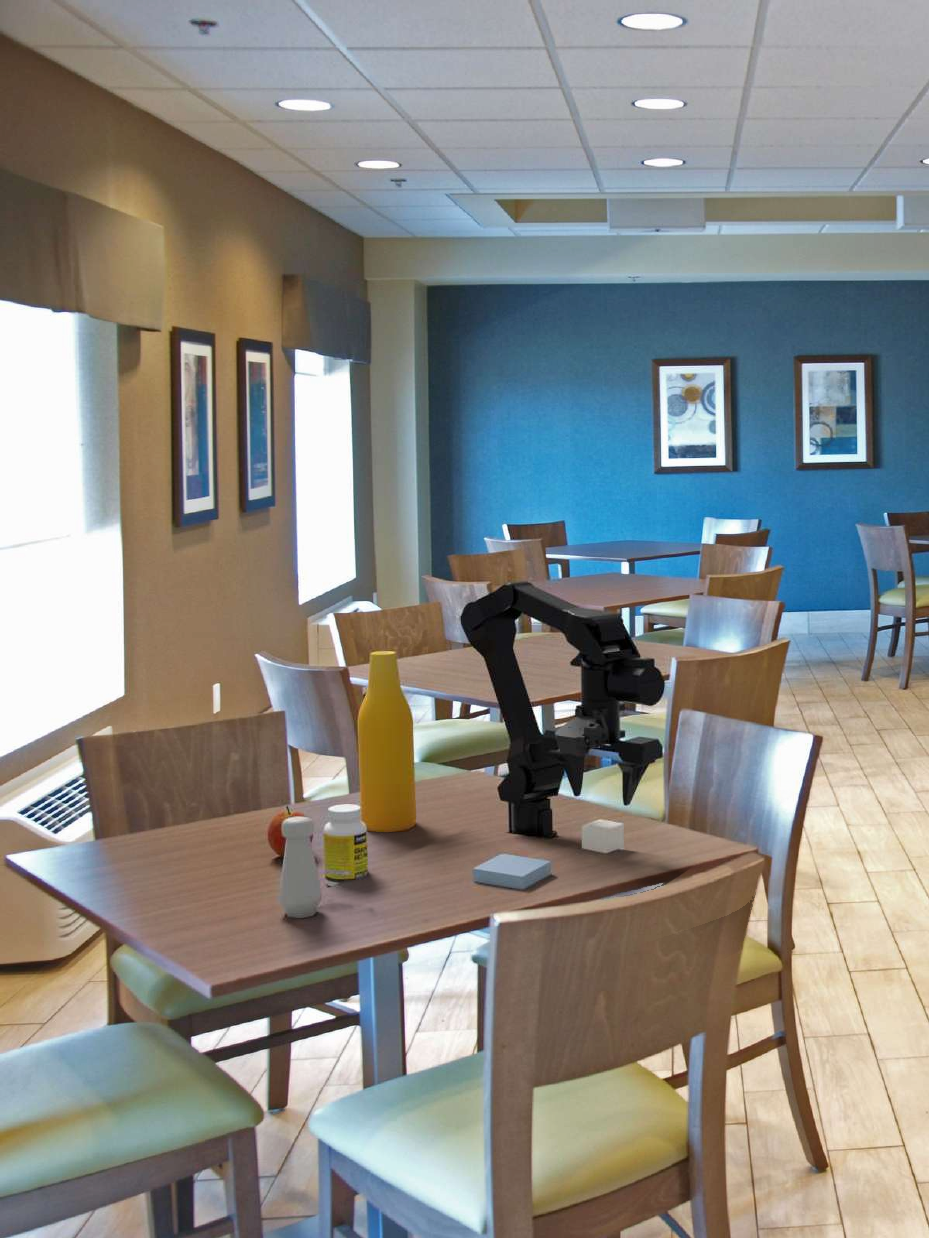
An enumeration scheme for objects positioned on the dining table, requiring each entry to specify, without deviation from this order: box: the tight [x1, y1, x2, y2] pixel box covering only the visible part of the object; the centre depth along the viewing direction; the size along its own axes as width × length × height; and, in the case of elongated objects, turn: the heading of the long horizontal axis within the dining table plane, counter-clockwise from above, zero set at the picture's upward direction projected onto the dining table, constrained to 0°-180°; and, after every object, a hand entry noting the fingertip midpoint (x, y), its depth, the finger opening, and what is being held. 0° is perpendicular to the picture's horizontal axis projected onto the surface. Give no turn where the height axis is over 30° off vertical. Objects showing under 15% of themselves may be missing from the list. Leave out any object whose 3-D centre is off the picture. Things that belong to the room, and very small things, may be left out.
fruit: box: [267, 805, 314, 858], centre depth 211 cm, size 7×7×8 cm
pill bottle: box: [323, 803, 369, 887], centre depth 197 cm, size 6×6×11 cm
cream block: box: [581, 818, 625, 854], centre depth 207 cm, size 4×4×5 cm
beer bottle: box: [357, 650, 417, 833], centre depth 227 cm, size 9×9×29 cm
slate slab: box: [472, 853, 552, 890], centre depth 193 cm, size 8×8×2 cm
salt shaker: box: [278, 816, 323, 919], centre depth 184 cm, size 6×6×13 cm
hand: (601, 800), depth 206 cm, fingers open, 9 cm apart
